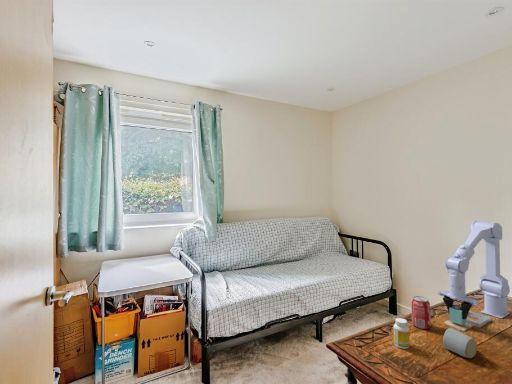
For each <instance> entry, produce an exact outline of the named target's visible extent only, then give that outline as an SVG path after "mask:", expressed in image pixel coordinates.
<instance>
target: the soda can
mask: <svg viewBox="0 0 512 384" xmlns="http://www.w3.org/2000/svg"><path fill="white" fill-rule="evenodd" d="M431 310H432V309H431V304H430V301H429V299H428V298H427V297H426V296H422V295H421V296H420V295H414V296H413V297H412V299H411V322H412V323H411V324H412V325H414V326H415V327H416V328H418V329H421V330H426V329H429V328H430V327H431V325H432V324H431V323H432V315H431V312H432V311H431Z"/></svg>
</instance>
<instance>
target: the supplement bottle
mask: <svg viewBox="0 0 512 384" xmlns="http://www.w3.org/2000/svg"><path fill="white" fill-rule="evenodd" d="M394 321H395V323H394V324H393V326H392V327H393V328H392V330H393V344H394V346H395V347H397V348H400V349H404V350H406V349H409V348H410V328H409V326H408V320H407V319H405V318H401V317H397V318H395V320H394Z"/></svg>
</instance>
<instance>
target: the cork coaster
mask: <svg viewBox="0 0 512 384" xmlns="http://www.w3.org/2000/svg"><path fill="white" fill-rule="evenodd" d="M442 324H443V325H446V326H449V327H450V328H453V329H455V330H459V331H461V332H465V331H468V330H469V329H471V328H473V327H474V325H471V324H469V323H464V324H462V325H461V324H458V323H455V322H452V321H450V318H449V319H447V320H445V321H444V322H443V323H442Z"/></svg>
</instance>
